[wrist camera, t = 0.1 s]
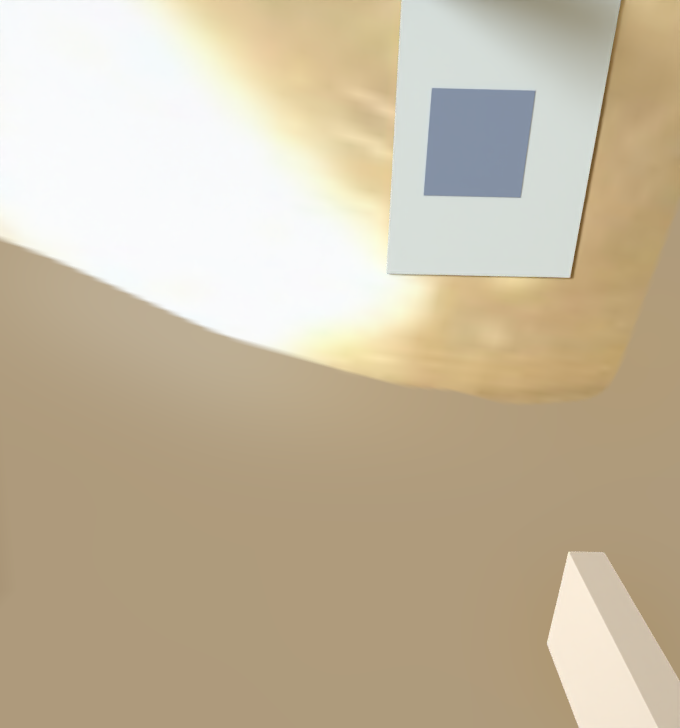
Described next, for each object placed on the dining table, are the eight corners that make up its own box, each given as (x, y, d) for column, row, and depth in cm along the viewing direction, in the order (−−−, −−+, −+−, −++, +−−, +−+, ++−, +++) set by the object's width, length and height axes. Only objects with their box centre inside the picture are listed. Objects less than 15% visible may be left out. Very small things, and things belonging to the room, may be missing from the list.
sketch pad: (402, -14, 32) (402, -15, 32) (620, -8, 32) (623, -9, 32) (386, 272, 38) (386, 273, 38) (568, 276, 39) (570, 277, 38)
